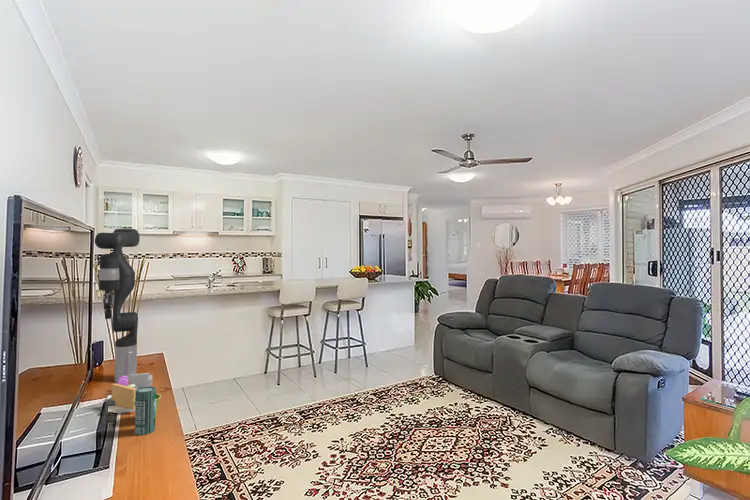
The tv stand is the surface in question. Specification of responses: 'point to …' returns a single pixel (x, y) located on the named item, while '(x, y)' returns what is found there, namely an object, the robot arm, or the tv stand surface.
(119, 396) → the tan upright panel
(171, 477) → the tv stand surface
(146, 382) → the plate
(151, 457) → the tv stand surface
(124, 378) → the bracket
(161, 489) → the tv stand surface
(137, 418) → the can
